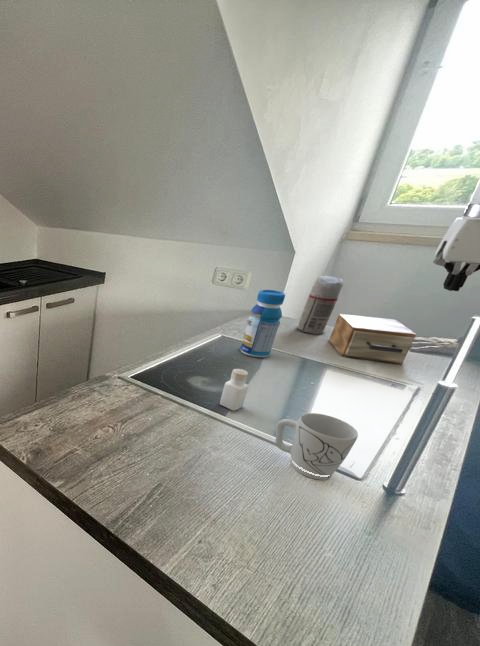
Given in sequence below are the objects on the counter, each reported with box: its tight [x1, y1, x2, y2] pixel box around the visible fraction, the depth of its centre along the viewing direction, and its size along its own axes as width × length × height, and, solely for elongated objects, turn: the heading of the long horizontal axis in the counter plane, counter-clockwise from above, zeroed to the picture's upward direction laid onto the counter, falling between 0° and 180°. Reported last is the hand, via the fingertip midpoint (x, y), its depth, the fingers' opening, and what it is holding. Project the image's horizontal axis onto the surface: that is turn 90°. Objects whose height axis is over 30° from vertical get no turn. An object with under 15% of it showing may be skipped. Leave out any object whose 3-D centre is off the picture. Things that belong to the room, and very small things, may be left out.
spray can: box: [296, 274, 344, 335], centre depth 139 cm, size 8×8×20 cm
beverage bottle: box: [240, 289, 286, 358], centre depth 120 cm, size 8×8×20 cm
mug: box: [274, 412, 359, 481], centre depth 73 cm, size 11×8×10 cm
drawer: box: [345, 330, 415, 363], centre depth 120 cm, size 18×13×8 cm
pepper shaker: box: [219, 368, 249, 411], centre depth 93 cm, size 4×4×10 cm
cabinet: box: [329, 313, 417, 365], centre depth 123 cm, size 15×15×10 cm
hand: (450, 289), depth 98 cm, fingers closed
